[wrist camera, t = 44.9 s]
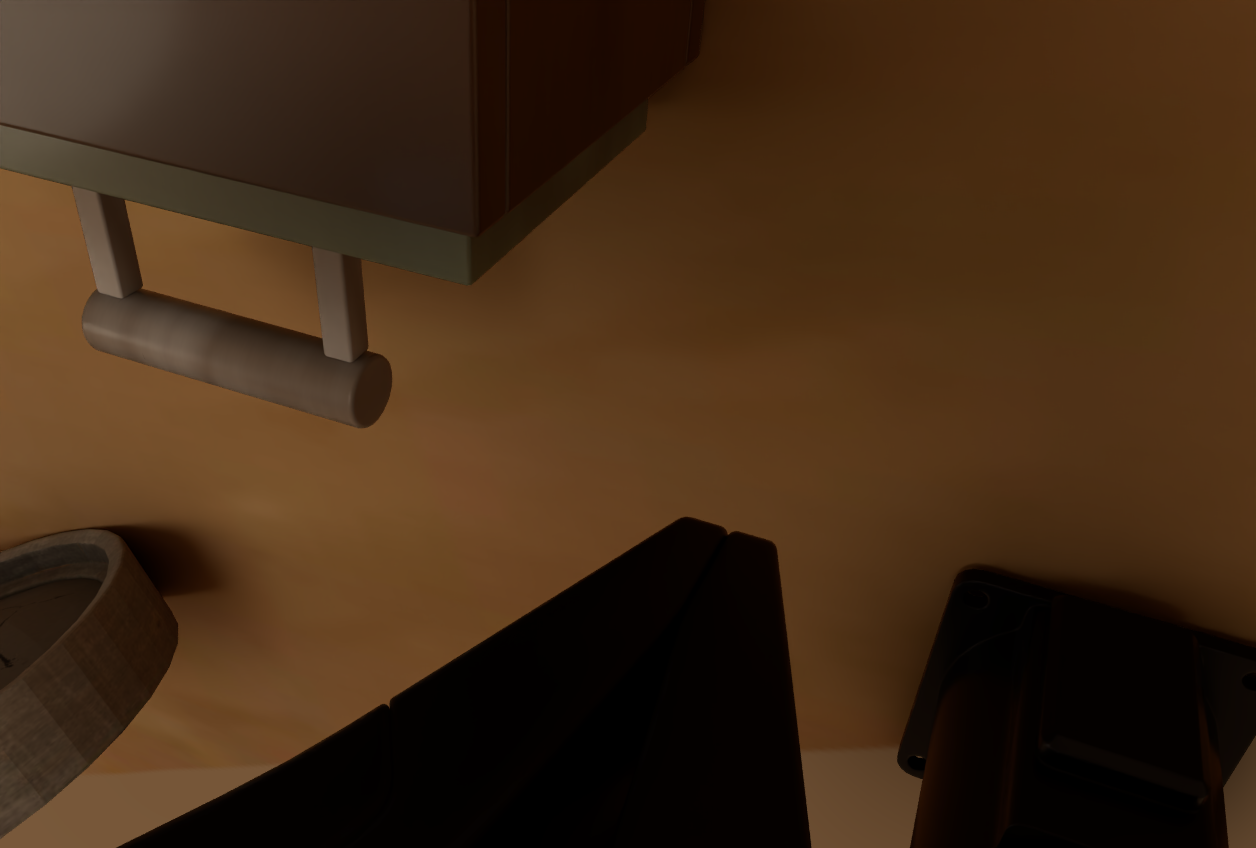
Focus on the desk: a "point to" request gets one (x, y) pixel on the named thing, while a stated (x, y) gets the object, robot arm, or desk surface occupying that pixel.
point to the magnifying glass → (72, 659)
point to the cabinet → (346, 90)
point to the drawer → (340, 237)
